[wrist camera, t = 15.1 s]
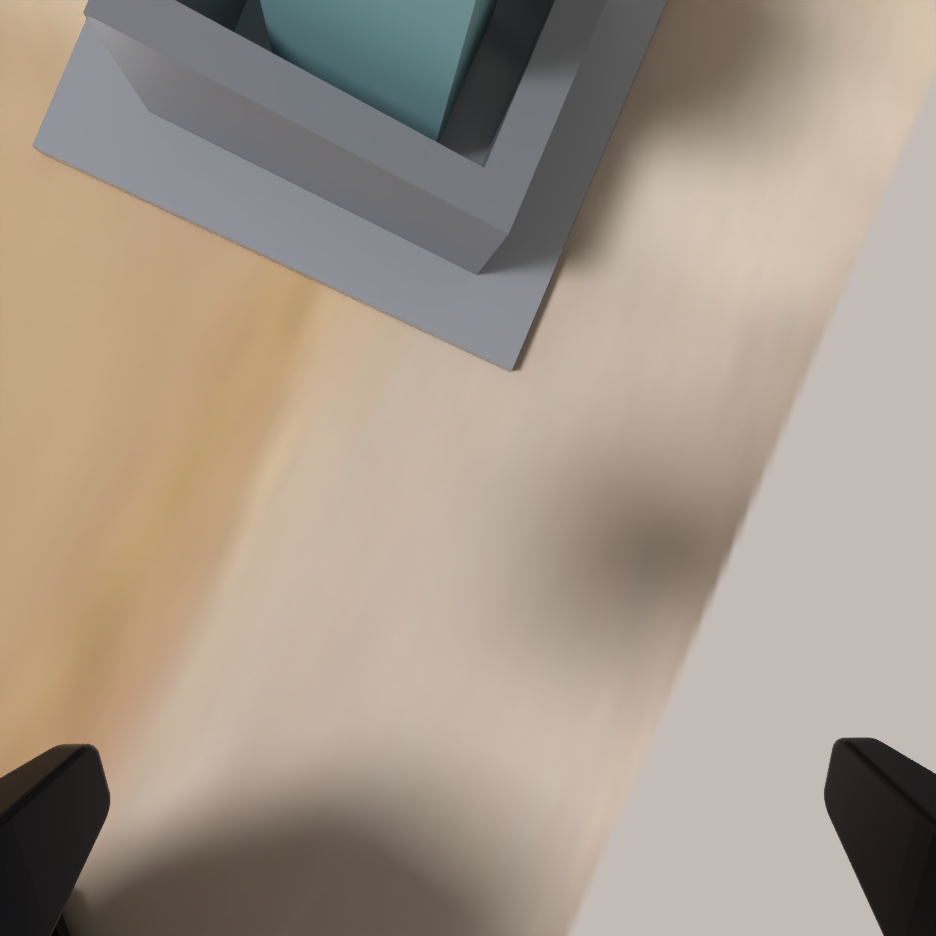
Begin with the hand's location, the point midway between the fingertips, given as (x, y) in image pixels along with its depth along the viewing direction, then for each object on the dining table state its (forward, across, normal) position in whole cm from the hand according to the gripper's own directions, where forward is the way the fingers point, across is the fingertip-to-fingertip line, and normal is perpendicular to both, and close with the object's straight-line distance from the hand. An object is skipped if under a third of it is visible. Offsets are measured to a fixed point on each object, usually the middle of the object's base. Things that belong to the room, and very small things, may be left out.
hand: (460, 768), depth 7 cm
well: (+15, +2, -13) cm, 20 cm away
